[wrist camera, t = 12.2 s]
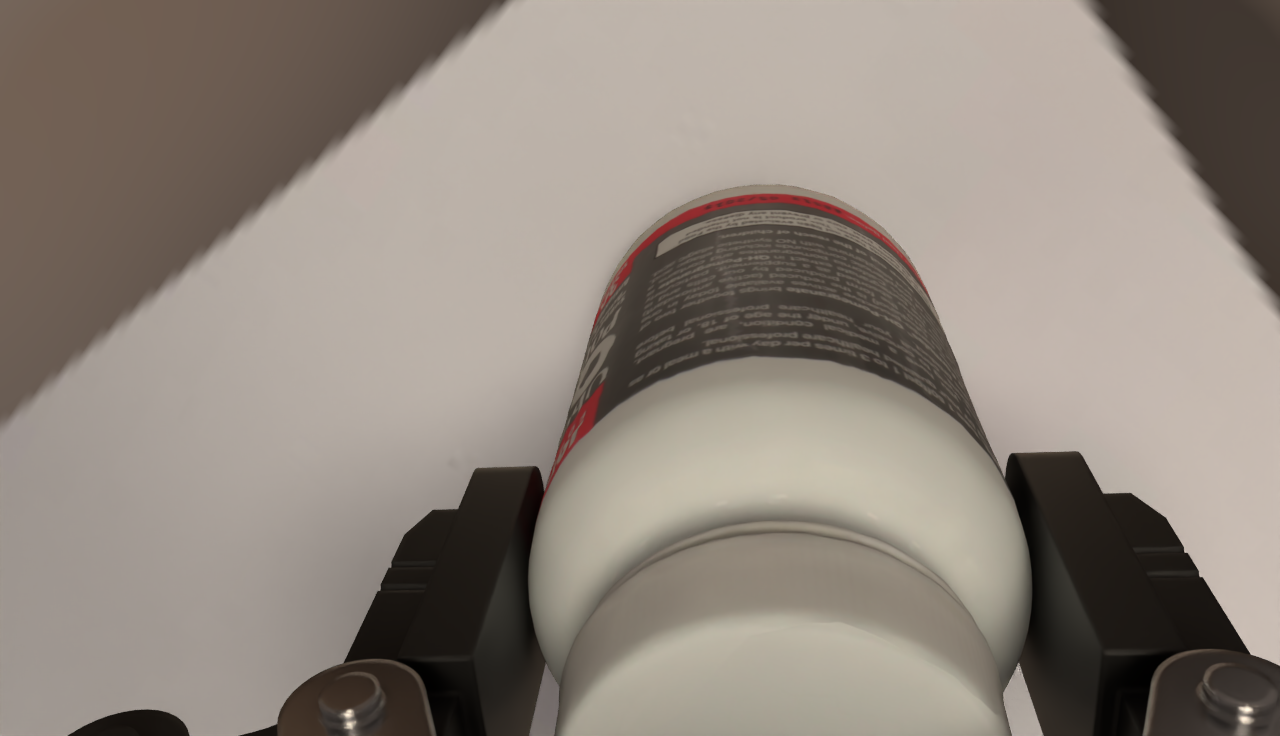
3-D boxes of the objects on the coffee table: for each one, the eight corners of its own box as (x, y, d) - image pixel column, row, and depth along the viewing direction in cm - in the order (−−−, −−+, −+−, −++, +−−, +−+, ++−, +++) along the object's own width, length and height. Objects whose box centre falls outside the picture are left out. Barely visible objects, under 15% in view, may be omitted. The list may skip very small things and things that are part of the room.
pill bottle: (556, 219, 18) (379, 601, 9) (903, 139, 17) (1088, 478, 8) (642, 508, 20) (567, 1046, 11) (954, 453, 19) (1144, 993, 10)
